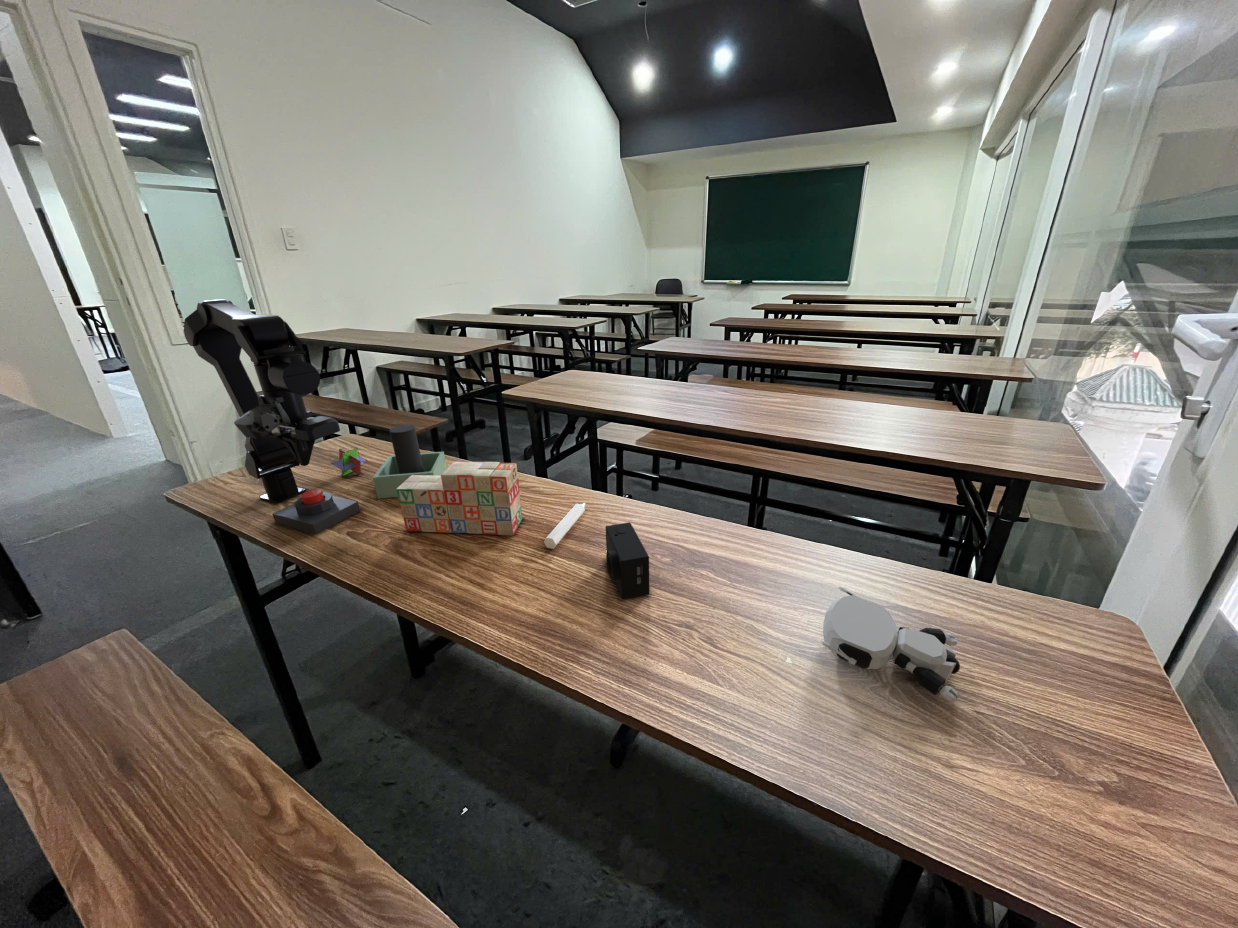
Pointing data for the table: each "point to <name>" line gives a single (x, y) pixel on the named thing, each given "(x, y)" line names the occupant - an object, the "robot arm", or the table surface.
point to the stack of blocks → (463, 499)
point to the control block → (316, 513)
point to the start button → (312, 497)
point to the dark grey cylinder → (406, 449)
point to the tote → (391, 479)
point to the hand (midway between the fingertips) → (305, 465)
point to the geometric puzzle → (349, 461)
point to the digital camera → (627, 560)
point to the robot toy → (889, 643)
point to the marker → (564, 526)
